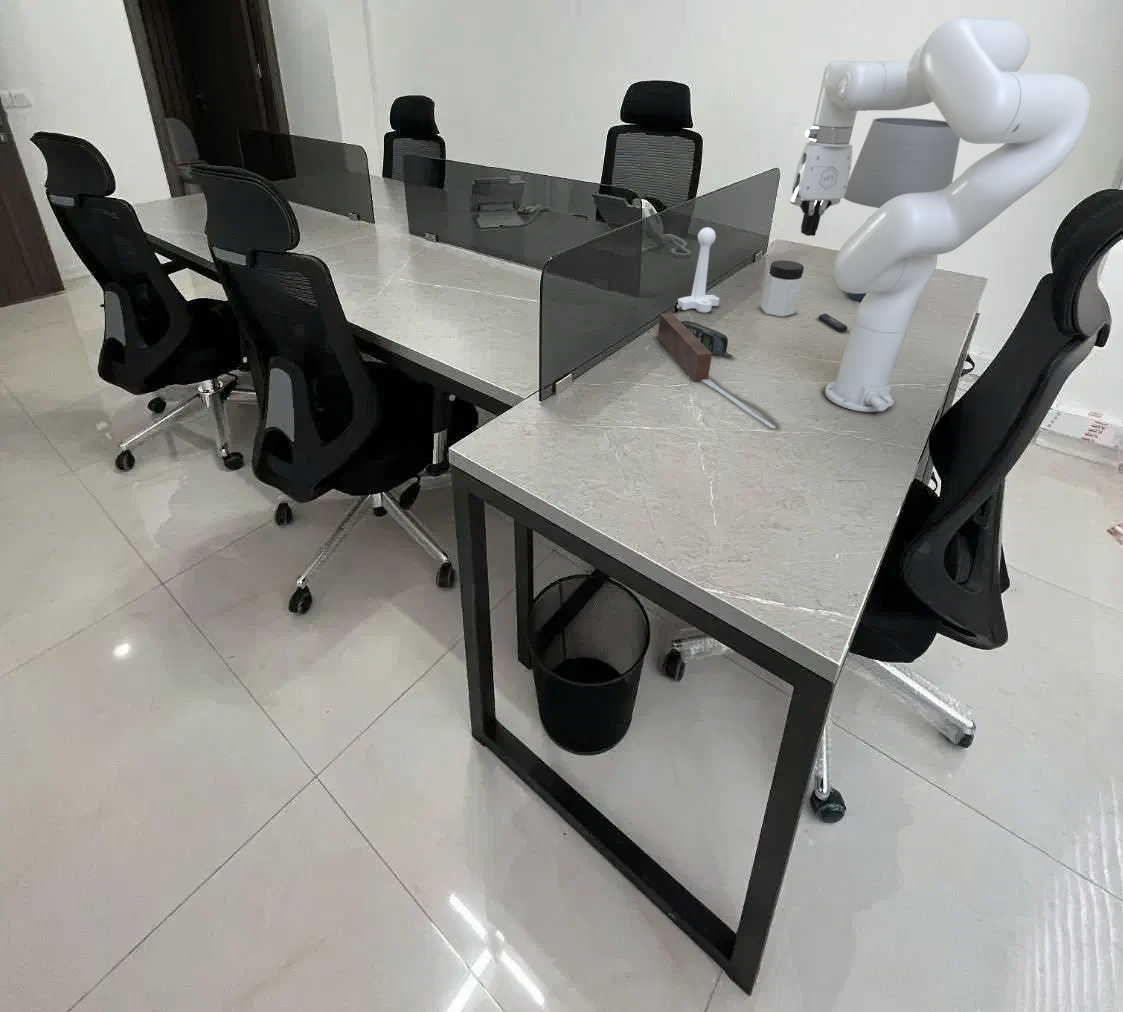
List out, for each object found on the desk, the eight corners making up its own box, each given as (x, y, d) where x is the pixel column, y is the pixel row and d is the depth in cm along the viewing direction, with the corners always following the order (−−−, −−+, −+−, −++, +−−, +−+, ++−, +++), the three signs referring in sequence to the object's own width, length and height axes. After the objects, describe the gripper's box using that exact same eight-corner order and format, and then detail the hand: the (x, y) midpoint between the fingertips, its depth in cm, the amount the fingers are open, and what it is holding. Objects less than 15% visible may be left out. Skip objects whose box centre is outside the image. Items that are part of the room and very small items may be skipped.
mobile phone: (677, 320, 153) (728, 338, 143) (685, 317, 154) (737, 335, 145) (675, 341, 156) (725, 360, 146) (683, 338, 157) (733, 357, 148)
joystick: (709, 301, 178) (722, 224, 167) (725, 310, 173) (738, 231, 161) (674, 306, 175) (684, 227, 163) (688, 315, 169) (700, 234, 157)
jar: (777, 318, 169) (788, 271, 162) (754, 309, 174) (763, 263, 167) (800, 312, 173) (812, 266, 166) (777, 303, 178) (787, 258, 171)
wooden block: (707, 380, 138) (712, 353, 135) (694, 381, 138) (698, 354, 134) (669, 337, 157) (672, 313, 153) (657, 338, 156) (660, 313, 153)
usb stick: (816, 319, 169) (818, 313, 168) (825, 318, 170) (827, 312, 169) (838, 332, 162) (840, 326, 161) (847, 331, 162) (849, 325, 161)
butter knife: (699, 368, 142) (688, 370, 141) (782, 426, 123) (769, 428, 122) (699, 371, 142) (687, 372, 141) (781, 429, 123) (768, 431, 122)
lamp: (821, 308, 176) (869, 125, 151) (815, 280, 196) (856, 114, 171) (921, 317, 172) (988, 131, 146) (904, 288, 191) (960, 119, 166)
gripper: (805, 139, 124) (784, 240, 135) (875, 138, 127) (848, 237, 138) (786, 134, 130) (767, 231, 141) (853, 133, 133) (829, 228, 144)
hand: (807, 234), depth 140 cm, fingers closed
